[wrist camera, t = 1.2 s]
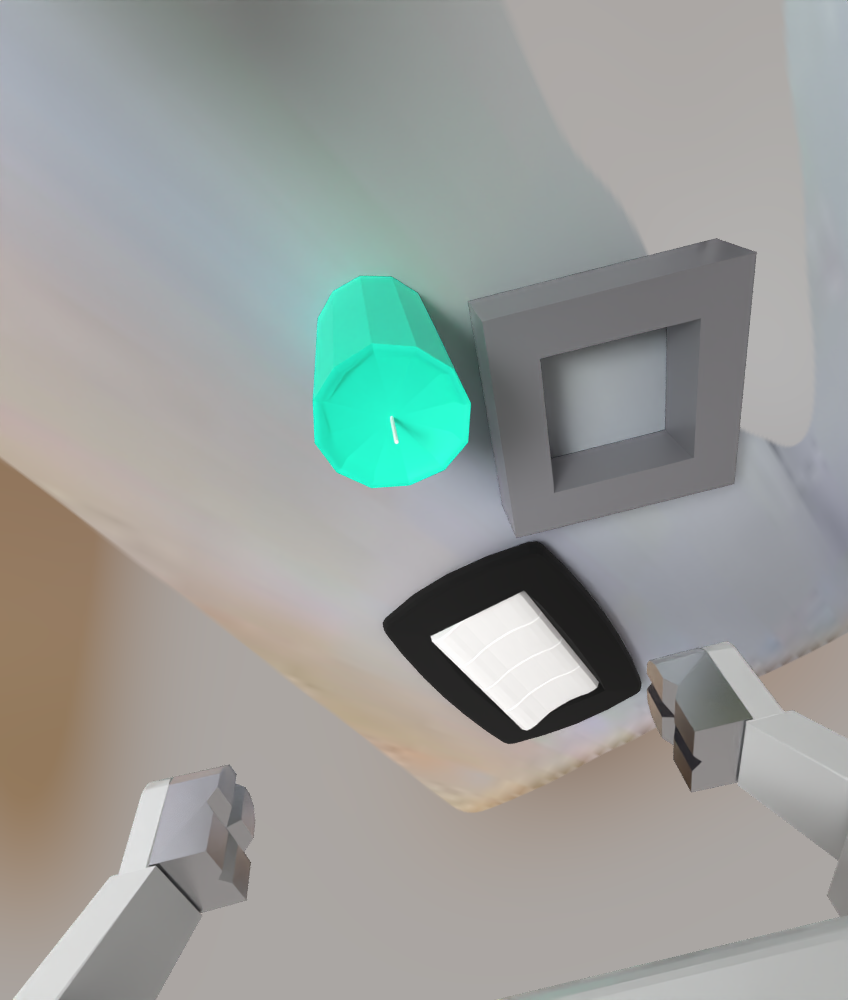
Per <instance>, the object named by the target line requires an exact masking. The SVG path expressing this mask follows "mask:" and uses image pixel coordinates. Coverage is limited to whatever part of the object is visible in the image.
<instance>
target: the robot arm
mask: <svg viewBox="0 0 848 1000" xmlns="http://www.w3.org/2000/svg"><path fill="white" fill-rule="evenodd" d="M647 675H648V677H649V678H650V680H651V682H652V683H651V685H650V686H649V687H648V688H647V699H648V704H649V708H650V712H651V715H652V718H653V720H654V723H655V725H656V727H657V729H658V731H659V733H660V735H661V737H662V738H663V739H664V740H666V741H668V742H669V743H671V744H672V745H674V748H673V760H674V762H675V763H676V765H677V767H678V769H679V771H680V773H681V774H682V776H683V778H684V780H685V782H686V784H687V786H688V788H689V789H690V791H691V792H695V791H700V790H704V789H709V788H714V787H719V786H723V785H728V784H732V783H737V782H738V786H739V787H741V788H742V789H744V790H745V791H746V792H747V793H749V794H750V795H752V796H753V797H754V798H755V799H757V800H758V801H759V802H761V803H762V804H763V805H765V806H766V807H767V808H769V809H770V810H772V811H773V812H774V813H775V814H777V815H778V816H779V817H781V818H782V819H783V820H785V821H786V822H787V823H789V824H790V825H791V826H793V827H794V828H795V829H797V830H798V831H799V832H801V833H802V834H803V835H805V836H806V837H807V838H809V839H810V840H812V841H813V842H814V843H815V844H817V845H818V846H819V847H821V848H822V849H823V850H825V851H826V852H827V853H829V854H830V855H831V856H833V857H834V858H835V859H837V860H838V863H837V867H836V870H835V872H834V876H833V878H832V881H831V884H830V887H829V891H828V894H827V896H828V898H829V900H830V901H831V903H832V905H833V906H834V908H835V909H836V911H837V913H838V914H839V916H840V917H838V918H834V919H829V920H825V921H822V922H817V923H813V924H809V925H805V926H800V927H796V928H792V929H788V930H784V931H780V932H776V933H771V934H767V935H763V936H759V937H755V938H750V939H746V940H743V941H738V942H734V943H730V944H726V945H721V946H717V947H713V948H709V949H705V950H701V951H696V952H692V953H688V954H684V955H680V956H676V957H672V958H668V959H663V960H659V961H655V962H651V963H647V964H642V965H639V966H634V967H630V968H626V969H622V970H618V971H613V972H609V973H605V974H601V975H597V976H593V977H588V978H584V979H580V980H576V981H572V982H568V983H564V984H559V985H555V986H551V987H547V988H543V989H539V990H535V991H530V992H526V993H522V994H518V995H514V996H509V997H505V998H502V999H497V1000H848V739H847V738H845V737H844V736H841V735H840V734H838V733H836V732H834V731H832V730H830V729H828V728H826V727H824V726H823V725H820V724H819V723H817V722H815V721H813V720H811V719H809V718H807V717H805V716H803V715H801V714H799V713H798V712H796V711H794V710H790V711H784V710H783V709H782V708H781V706H780V705H779V704H778V702H777V701H776V700H775V698H774V697H773V696H772V695H771V693H770V692H769V691H768V689H767V688H766V687H765V686H764V684H763V683H762V682H761V680H760V679H759V678H758V676H757V675H756V674H755V672H754V671H753V670H752V669H751V667H750V666H749V665H748V663H747V662H746V661H745V659H744V658H743V657H742V656H741V654H740V653H739V652H738V650H737V649H736V648H735V646H734V645H733V644H731V643H729V642H728V641H726V642H721V643H717V644H713V645H710V646H706V647H702V648H695V649H691V650H687V651H683V652H679V653H675V654H672V655H668V656H664V657H660V658H656V659H653V660H649V662H648V664H647ZM236 775H237V774H236V773H235V772H234V770H233V769H232V767H231V766H230V765H225V766H220V767H216V768H212V769H207V770H202V771H198V772H194V773H189V774H184V775H180V776H175V777H170V778H166V779H163V780H158V781H154V782H150V783H148V784H147V786H146V787H145V789H144V790H143V792H142V795H141V798H140V801H139V805H138V809H137V812H136V815H135V819H134V822H133V825H132V829H131V833H130V836H129V839H128V843H127V846H126V850H125V853H124V857H123V860H122V864H121V867H120V870H119V874H117V875H114V876H110V878H109V879H108V880H107V882H106V883H105V884H104V885H103V887H102V888H101V889H100V890H99V892H98V893H97V894H96V895H95V897H94V898H93V899H92V901H91V902H90V903H89V904H88V906H87V907H86V908H85V909H84V910H83V912H82V913H81V914H80V916H79V917H78V918H77V919H76V921H75V922H74V923H73V924H72V926H71V927H70V928H69V929H68V931H67V932H66V933H65V934H64V936H63V937H62V938H61V939H60V941H59V942H58V943H57V945H56V946H55V947H54V948H53V949H52V951H51V952H50V953H49V954H48V956H47V957H46V958H45V960H44V961H43V962H42V963H41V965H40V966H39V967H38V968H37V970H36V971H35V972H34V973H33V975H32V976H31V977H30V978H29V980H28V981H27V982H26V984H25V985H24V986H23V987H22V989H21V990H20V991H19V992H18V994H17V995H16V996H15V997H14V999H13V1000H155V999H156V998H157V996H158V995H159V993H160V991H161V989H162V987H163V985H164V983H165V982H166V980H167V978H168V977H169V975H170V973H171V971H172V969H173V967H174V966H175V964H176V962H177V960H178V958H179V957H180V955H181V953H182V951H183V949H184V948H185V946H186V944H187V942H188V940H189V938H190V937H191V935H192V933H193V931H194V929H195V928H196V926H197V924H198V922H199V921H200V919H201V916H202V914H201V913H203V912H206V911H210V910H214V909H217V908H221V907H225V906H228V905H232V904H235V903H239V902H243V901H246V900H247V891H248V883H249V874H250V865H251V862H250V860H249V859H248V857H247V856H246V854H245V852H244V851H245V850H246V848H247V847H248V845H249V844H250V842H251V841H252V839H253V838H254V828H255V815H254V805H253V802H252V799H251V796H250V794H249V792H248V791H247V789H246V788H245V787H243V786H241V785H238V784H236V783H235V781H236Z"/></svg>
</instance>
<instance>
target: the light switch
mask: <svg viewBox="0 0 848 1000" xmlns="http://www.w3.org/2000/svg"><path fill="white" fill-rule="evenodd" d="M383 628H384V631H385V633H386V634H387V636H388V637H389V638H390V639H391V641H392V642H393V643H394V644H395V646H396V647H397V648H398V649H399V651H400V652H401V653H402V654H403V656H404V657H405V658H406V659H407V660H408V661H409V662H410V663H411V664H412V665H413V666H414V668H415V669H416V670H417V671H418V672H419V673H420V674H421V675H422V676H423V677H424V678H425V679H426V680H427V681H428V682H429V683H430V684H431V685H432V686H433V687H434V688H435V689H436V690H437V691H438V692H439V693H440V694H441V695H442V696H443V697H444V698H446V699H447V700H448V701H449V702H450V703H451V704H453V705H454V706H455V707H456V708H457V709H459V710H460V711H461V712H462V713H463V714H465V715H466V716H467V717H469V718H470V719H471V720H473V721H474V722H475V723H477V724H478V725H479V726H481V727H482V728H483V729H484V730H486V731H487V732H489V733H490V734H492V735H493V736H495V737H496V738H498V739H499V740H501V741H503V742H504V743H507V744H513V743H517V742H521V741H524V740H528V739H532V738H535V737H539V736H542V735H546V734H549V733H551V732H554V731H557V730H560V729H563V728H566V727H568V726H571V725H574V724H577V723H579V722H581V721H583V720H586V719H588V718H590V717H592V716H594V715H597V714H599V713H601V712H603V711H605V710H608V709H609V708H611V707H613V706H615V705H617V704H618V703H620V702H622V701H624V700H626V699H628V698H629V697H631V696H633V695H635V694H637V693H638V692H639V691H640V689H641V680H640V677H639V674H638V672H637V670H636V668H635V665H634V663H633V661H632V658H631V656H630V655H629V653H628V651H627V649H626V647H625V646H624V644H623V642H622V640H621V638H620V637H619V635H618V633H617V632H616V630H615V629H614V627H613V626H612V624H611V623H610V621H609V620H608V618H607V616H606V615H605V613H604V612H603V611H602V610H601V608H600V607H599V606H598V604H597V603H596V602H595V601H594V599H593V598H592V597H591V595H590V594H589V593H588V592H587V590H586V589H585V588H584V587H583V586H582V585H581V584H580V583H579V582H578V580H577V579H576V578H575V577H574V576H573V575H572V574H571V573H570V572H569V570H568V569H567V568H566V567H565V566H564V565H563V564H562V563H561V562H560V561H559V560H558V559H557V558H556V557H555V556H554V555H553V554H552V553H551V552H550V551H549V550H547V549H546V548H545V547H544V546H543V545H542V544H541V543H538V542H536V541H534V542H527V543H525V544H522V545H519V546H516V547H513V548H510V549H507V550H504V551H501V552H499V553H496V554H493V555H490V556H487V557H485V558H482V559H480V560H478V561H476V562H473V563H471V564H469V565H467V566H465V567H462V568H460V569H458V570H456V571H454V572H451V573H449V574H447V575H445V576H444V577H442V578H440V579H439V580H437V581H435V582H434V583H432V584H430V585H429V586H427V587H425V588H424V589H422V590H420V591H419V592H417V593H415V594H414V595H413V596H411V597H410V598H409V599H408V600H406V601H405V602H404V603H403V604H402V605H400V606H399V607H398V608H397V609H396V610H395V611H393V612H392V613H391V614H390V615H389V616H388V617H386V618H385V620H384V622H383Z"/></svg>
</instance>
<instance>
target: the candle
mask: <svg viewBox="0 0 848 1000" xmlns="http://www.w3.org/2000/svg"><path fill="white" fill-rule="evenodd" d="M470 411H471V402H470V400H469V398H468V396H467V393H466V391H465V389H464V387H463V385H462V383H461V381H460V379H459V377H458V374H457V372H456V370H455V368H454V366H453V364H452V362H451V360H450V358H449V356H448V353H447V351H446V349H445V347H444V345H443V343H442V341H441V339H440V337H439V334H438V332H437V330H436V328H435V326H434V324H433V322H432V320H431V318H430V316H429V314H428V312H427V310H426V308H425V306H424V304H423V302H422V300H421V298H420V296H419V294H418V293H417V292H415V291H414V290H412V289H411V288H409V287H407V286H406V285H404V284H403V283H401V282H400V281H398V280H396V279H395V278H393V277H392V276H359V277H357V278H355V279H353V280H352V281H350V282H348V283H346V284H345V285H343V286H341V287H340V288H338V289H336V290H334V291H333V292H332V293H331V295H330V297H329V299H328V301H327V303H326V304H325V306H324V308H323V310H322V312H321V314H320V315H319V317H318V322H317V339H316V356H315V373H314V389H313V416H314V439H315V444H316V445H317V447H318V448H319V449H320V451H321V452H322V453H323V455H324V456H325V457H326V459H327V460H328V461H329V463H330V464H331V465H332V467H333V468H334V469H335V471H336V472H337V473H339V474H341V475H344V476H346V477H348V478H350V479H352V480H355V481H357V482H359V483H361V484H364V485H366V486H368V487H370V488H380V487H394V486H408V485H412V484H414V483H416V482H419V481H421V480H423V479H425V478H428V477H430V476H432V475H434V474H437V473H439V472H441V471H443V470H445V469H446V468H447V467H448V465H449V464H450V463H451V462H452V461H453V460H454V458H455V457H456V456H457V455H458V454H459V453H460V451H461V450H462V449H463V448H464V447H465V446H466V444H467V443H468V438H469V424H470Z"/></svg>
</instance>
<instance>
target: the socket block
mask: <svg viewBox="0 0 848 1000" xmlns="http://www.w3.org/2000/svg"><path fill="white" fill-rule="evenodd" d="M755 263H756V252H755V251H752V250H749V249H746V248H742V247H740V246H737V245H734V244H731V243H728V242H725V241H722V240H719V239H717V238H716V239H712V240H708V241H704V242H700V243H696V244H692V245H688V246H684V247H681V248H676V249H673V250H669V251H665V252H661V253H657V254H653V255H649V256H645V257H641V258H637V259H633V260H629V261H625V262H621V263H617V264H613V265H609V266H605V267H601V268H597V269H593V270H589V271H585V272H582V273H578V274H574V275H570V276H566V277H562V278H558V279H554V280H550V281H546V282H542V283H538V284H534V285H530V286H526V287H522V288H518V289H514V290H510V291H507V292H503V293H499V294H495V295H491V296H487V297H483V298H479V299H475V300H471V301H468V305H469V311H470V317H471V323H472V329H473V334H474V340H475V346H476V352H477V358H478V364H479V370H480V376H481V382H482V388H483V394H484V400H485V406H486V412H487V418H488V424H489V430H490V436H491V441H492V447H493V453H494V459H495V465H496V471H497V477H498V483H499V489H500V495H501V501H502V506H503V508H504V511H505V513H506V515H507V517H508V520H509V522H510V524H511V527H512V529H513V531H514V534H515V536H516V538H519V537H523V536H527V535H531V534H535V533H539V532H543V531H547V530H551V529H555V528H559V527H563V526H567V525H571V524H575V523H579V522H583V521H587V520H591V519H595V518H599V517H603V516H607V515H611V514H615V513H619V512H623V511H627V510H631V509H635V508H639V507H643V506H647V505H651V504H655V503H659V502H664V501H668V500H672V499H676V498H680V497H684V496H688V495H692V494H696V493H700V492H704V491H708V490H712V489H716V488H720V487H724V486H728V485H732V484H734V481H735V470H736V460H737V450H738V439H739V429H740V419H741V408H742V398H743V397H742V396H743V387H744V376H745V366H746V356H747V346H748V336H749V335H748V334H749V325H750V315H751V305H752V293H753V283H754V273H755ZM665 327H667V352H666V409H665V430H663V431H659V432H655V433H651V434H647V435H643V436H639V437H635V438H631V439H627V440H623V441H619V442H615V443H611V444H607V445H603V446H599V447H595V448H591V449H587V450H583V451H579V452H575V453H571V454H567V455H563V456H559V457H556V458H552V459H551V456H550V446H549V437H548V428H547V418H546V409H545V399H544V390H543V381H542V371H541V362H540V359H542V358H546V357H550V356H554V355H558V354H562V353H566V352H570V351H573V350H577V349H581V348H585V347H589V346H593V345H597V344H601V343H605V342H609V341H613V340H617V339H621V338H625V337H629V336H633V335H637V334H641V333H645V332H649V331H653V330H657V329H661V328H665Z"/></svg>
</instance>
